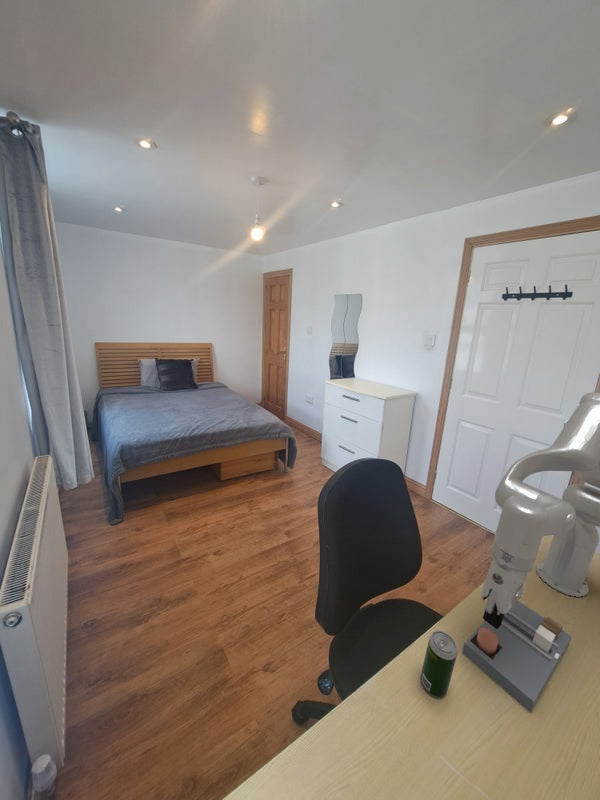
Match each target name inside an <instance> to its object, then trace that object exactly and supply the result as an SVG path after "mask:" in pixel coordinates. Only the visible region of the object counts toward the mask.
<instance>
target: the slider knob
mask: <svg viewBox="0 0 600 800" xmlns="http://www.w3.org/2000/svg"><path fill="white" fill-rule="evenodd" d="M555 636H556V635H555V634H553V633H552V632H550V631H549V630H547V629H546V628H544V627H543V626H541V625H540V626H539V628H538V629H537V631H536V632H535V635H534V638H533V641H532V642H533V643H534V644H536V645H537V646H538V647H540V648H541V649H542V650H544V651H545V652H547V653H548V651H549V650H550V648H551V646H552V644H553V641H554V639H555Z"/></svg>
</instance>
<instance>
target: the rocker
mask: <svg viewBox="0 0 600 800" xmlns="http://www.w3.org/2000/svg"><path fill="white" fill-rule="evenodd" d="M541 626H543V627H544V628H546V629H547V630H549V631H550V632H552V633H553V634H555V635H556V636H555V637H557V636H558V635H559V633H560V632H561V630H563V628H564V625H562V624H561V623H559V622H558V621H556V620H554V619H553V618H552V617H549V616H547V617H545V620H544V621H543V622H542V624H541Z"/></svg>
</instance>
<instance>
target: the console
mask: <svg viewBox="0 0 600 800" xmlns="http://www.w3.org/2000/svg"><path fill="white" fill-rule="evenodd" d="M545 619H546V617H544V616H542V615H540V614H539V613H538V612H537V611H535V610H533V609H532V608H530V607H529V606H527V605H525V604H524V603H522V602H521V601H519V600H518V601H517V602H516V603H515V605H514V606H513V607H512V608H511V609H510V610H509V611H508V612H507V613H506V614H504V617H503V620H502V623H501V626H500V627H499V628H498V629H496V628H494V627H493V626H492V625H490V624H489V623H488V622H486V621H485V620H484V621H483V622H482V624H480V625H479V627H477V629H475V631H474V632H473V633H472V634H471V635H470V636H469V637H468V639H466V641H464V644H463V647H462V651H461V653H462V655H464V656H466V657H467V658H468V659H469V660H470V661H471V662H473V664H475V665H476V666H477V667H478V668H479V669H480V670H482V672H484V673H485V674H486V675H487V676H488V677H489V678H490V679H492V681H494V683H496V684H497V685H499V687H501V688H502V689H503V690H504V691H506V693H508V695H510V696H511V697H512V698H513V699H514V700H515V701H516V702H518V703H519V704H520V705H521V706H522V707H524V708H525V709H526V711H528V712H529V713H531V712H532V710H533V709H534V707H535V705H536V703H537V701H538V700H539V698H540V696H541V694H542V693H543V691H544V689H545V687H547V684H548V682H549V681H550V680H551V676H552V675H553V673H554V672H555V670H556V668H557V667H558V664H559V662H560V661H561V660H562V657H563V656H564V654H565V652H566V651H567V648H568V646H569V645H570V642H571V640H572V637H573V636H572V635H570V634H569V633H568V632H566V631H564V630H563V629H562V630H561V632H560V633H559V635H558V636H557V637H555V639H554V641H553V644H552V646H551V648H550V650H549V651H548V653H547V652H545V651H544V650H542V649H541V648H540V647H538V646H537V645H536V644H534V643H533V642H532V641H533V638H534V635H535V632H536V631H537V629H538V628H539V626H540V625H541V624H542V622H543V621H544V620H545ZM480 628H488V629H490V630H491V631H493V632H494V633H495V634H496V635H497V637H498V640H499V641H498V645H497V648H496V651H495V654H494V655H495V656H494V657H493V659H492V658H491V656H487V655H486V654H485V653H484V652H483V651H481V650H480V649H479V648H478V647H477V646H476V644H475V643H476V639H477V635H478V632H479V629H480Z"/></svg>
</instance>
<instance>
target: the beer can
mask: <svg viewBox="0 0 600 800" xmlns="http://www.w3.org/2000/svg"><path fill="white" fill-rule="evenodd" d="M457 657H458V645H457V642H456V641H455V639H454V638H453V636H452V635H450V634H449V633H447V632H446V631H443V630H435V631H433V632H432V633H431V634H430V635H429V638H428V643H427V646H426V651H425V655H424V658H423V659H424V660H423V664H422V668H421V672H420V682H421V684H422V687H423V689H424V690H425V691H426V693H427V694H428V695H430V696H432V697H433V698H437V699H439V698H443V697H445V696H446V695H447V693H448V690H449V688H450V682H451V680H452V675H453V673H454V671H453V670H454V668H455V664H456V660H457Z"/></svg>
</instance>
